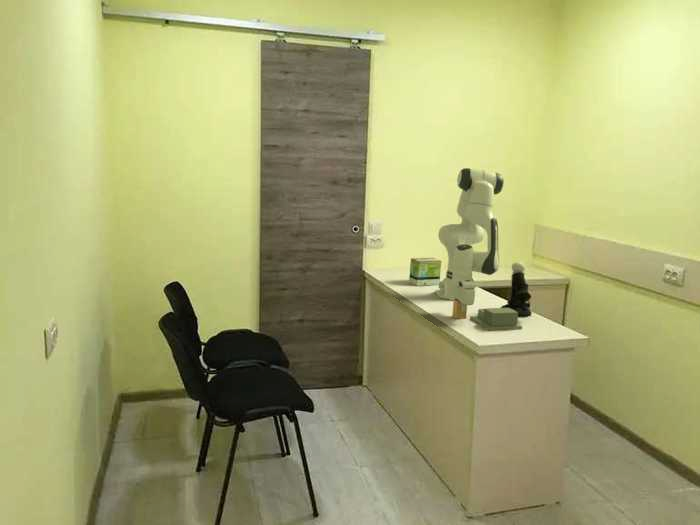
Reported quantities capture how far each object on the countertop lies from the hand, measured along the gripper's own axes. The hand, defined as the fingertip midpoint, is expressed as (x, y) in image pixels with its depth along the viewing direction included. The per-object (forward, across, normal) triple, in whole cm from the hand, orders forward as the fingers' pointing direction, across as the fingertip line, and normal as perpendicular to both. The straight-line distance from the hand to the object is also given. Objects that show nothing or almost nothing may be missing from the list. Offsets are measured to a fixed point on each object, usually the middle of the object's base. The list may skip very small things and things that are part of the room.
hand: (459, 309), depth 270 cm
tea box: (+4, -70, +10) cm, 71 cm away
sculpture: (+4, 0, +30) cm, 30 cm away
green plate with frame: (+4, +12, +12) cm, 17 cm away
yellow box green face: (+4, 0, 0) cm, 4 cm away
